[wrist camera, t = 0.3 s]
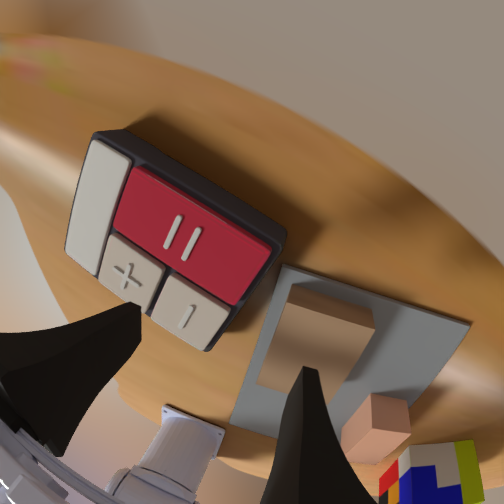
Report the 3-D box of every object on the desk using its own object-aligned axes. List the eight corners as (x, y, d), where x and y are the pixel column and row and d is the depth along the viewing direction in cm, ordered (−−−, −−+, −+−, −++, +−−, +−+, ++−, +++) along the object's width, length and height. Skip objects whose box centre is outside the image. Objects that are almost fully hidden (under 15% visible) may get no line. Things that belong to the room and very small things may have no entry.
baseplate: (360, 452, 26) (360, 456, 26) (229, 420, 28) (228, 423, 28) (468, 323, 18) (470, 326, 17) (283, 263, 20) (282, 266, 20)
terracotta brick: (375, 434, 24) (375, 465, 20) (341, 428, 24) (339, 460, 21) (406, 400, 21) (411, 433, 18) (370, 393, 22) (372, 428, 18)
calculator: (204, 361, 21) (57, 255, 20) (220, 328, 25) (87, 237, 24) (284, 251, 16) (85, 130, 16) (291, 227, 20) (122, 127, 19)
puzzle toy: (408, 444, 24) (412, 516, 15) (472, 438, 22) (484, 500, 13) (379, 478, 28) (376, 536, 19) (437, 474, 26) (441, 527, 17)
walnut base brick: (329, 383, 22) (327, 404, 20) (262, 363, 23) (255, 383, 21) (371, 309, 19) (375, 329, 17) (291, 283, 20) (286, 302, 18)
